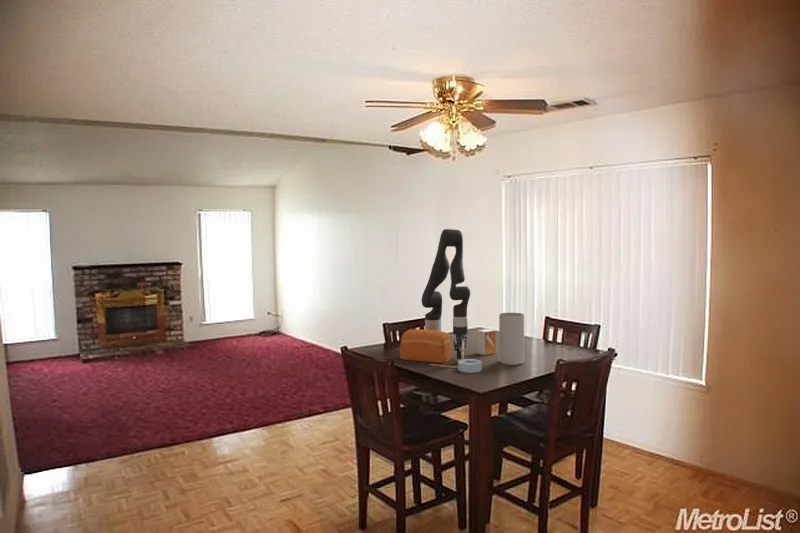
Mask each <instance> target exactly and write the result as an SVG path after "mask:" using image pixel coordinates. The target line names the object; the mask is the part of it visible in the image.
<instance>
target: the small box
mask: <svg viewBox="0 0 800 533" xmlns="http://www.w3.org/2000/svg"><path fill="white" fill-rule="evenodd" d="M476 338H477V339H476V340H477V345H476V346H477V354H478V355H482V356H489V355H495V354H496V330H495V329H490V328H485V329H484V328H483V329H480V330H479V329H478V330H477V336H476Z"/></svg>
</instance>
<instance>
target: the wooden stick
mask: <svg viewBox="0 0 800 533" xmlns="http://www.w3.org/2000/svg"><path fill="white" fill-rule="evenodd" d="M428 364H429V366H431V365H432V367H443V368H452V369H458V366H456V365H454V366H453V365H445V364H443V365H442V364H435V363H428Z"/></svg>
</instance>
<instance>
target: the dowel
mask: <svg viewBox="0 0 800 533" xmlns="http://www.w3.org/2000/svg"><path fill="white" fill-rule="evenodd" d="M459 346H460V345H459ZM463 359H465V350H464V340H463V347H462V348H461V359H457V358H456V363H457V364H458V361H460V360H463Z"/></svg>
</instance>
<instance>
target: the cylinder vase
mask: <svg viewBox="0 0 800 533" xmlns="http://www.w3.org/2000/svg"><path fill="white" fill-rule="evenodd" d="M498 322H499V324H498V325H499V327H498V329H499V330H498V331H499V332H498V333H499V340H498V342H499V346H498V347H499V348H498V349H499V362H500V364H503V365H505V366H506V365H507V366H518V365H522V364H524V362H525V313H521V312H502V313H499V320H498Z"/></svg>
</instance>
